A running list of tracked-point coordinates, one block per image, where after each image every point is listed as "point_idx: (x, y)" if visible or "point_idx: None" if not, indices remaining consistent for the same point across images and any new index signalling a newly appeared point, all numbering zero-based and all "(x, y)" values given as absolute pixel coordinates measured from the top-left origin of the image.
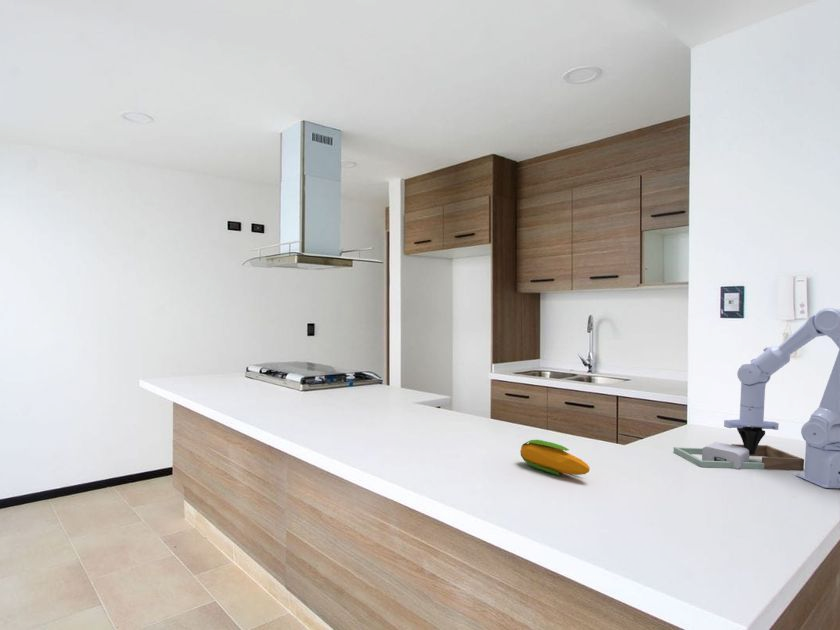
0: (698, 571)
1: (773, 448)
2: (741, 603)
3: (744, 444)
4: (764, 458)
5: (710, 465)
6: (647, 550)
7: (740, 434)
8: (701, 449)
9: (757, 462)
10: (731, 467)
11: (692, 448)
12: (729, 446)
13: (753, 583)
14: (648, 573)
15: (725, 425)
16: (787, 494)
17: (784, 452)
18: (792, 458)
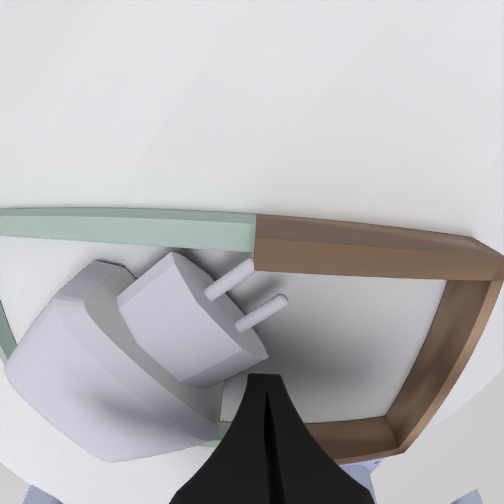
0: (37, 485)
1: (476, 329)
2: None
3: (241, 413)
4: None
5: None
6: (12, 466)
7: (202, 471)
8: (35, 237)
9: (217, 441)
10: None
11: (2, 229)
12: (108, 414)
13: (61, 499)
14: (17, 474)
15: (36, 500)
16: (164, 497)
17: (443, 392)
18: (370, 457)
